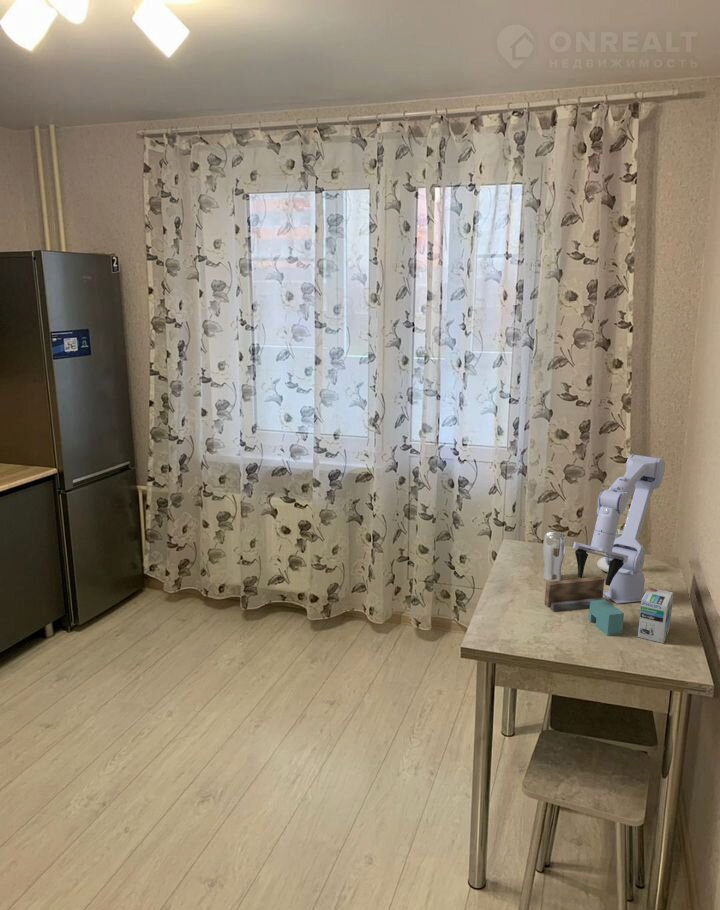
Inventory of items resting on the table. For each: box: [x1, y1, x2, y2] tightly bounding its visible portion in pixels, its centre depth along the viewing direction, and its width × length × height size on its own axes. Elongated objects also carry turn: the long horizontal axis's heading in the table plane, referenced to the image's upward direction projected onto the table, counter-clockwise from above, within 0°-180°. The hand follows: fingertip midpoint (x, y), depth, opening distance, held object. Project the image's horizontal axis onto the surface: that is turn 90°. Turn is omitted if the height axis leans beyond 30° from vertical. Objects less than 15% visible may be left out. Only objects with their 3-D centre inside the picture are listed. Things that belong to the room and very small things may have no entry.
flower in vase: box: [596, 503, 630, 573], centre depth 227 cm, size 13×11×25 cm
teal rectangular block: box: [588, 599, 625, 637], centre depth 188 cm, size 4×9×6 cm, turn 14°
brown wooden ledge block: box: [544, 576, 610, 613], centre depth 202 cm, size 18×5×7 cm, turn 104°
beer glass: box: [541, 530, 567, 582], centre depth 220 cm, size 7×7×15 cm
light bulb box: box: [637, 586, 674, 644], centre depth 185 cm, size 11×7×11 cm, turn 148°
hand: (593, 581), depth 188 cm, fingers open, 7 cm apart
